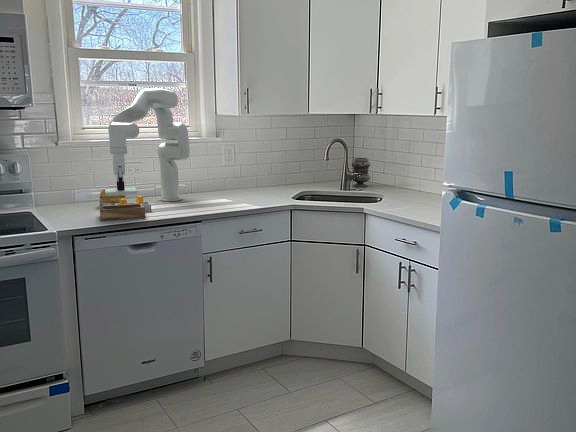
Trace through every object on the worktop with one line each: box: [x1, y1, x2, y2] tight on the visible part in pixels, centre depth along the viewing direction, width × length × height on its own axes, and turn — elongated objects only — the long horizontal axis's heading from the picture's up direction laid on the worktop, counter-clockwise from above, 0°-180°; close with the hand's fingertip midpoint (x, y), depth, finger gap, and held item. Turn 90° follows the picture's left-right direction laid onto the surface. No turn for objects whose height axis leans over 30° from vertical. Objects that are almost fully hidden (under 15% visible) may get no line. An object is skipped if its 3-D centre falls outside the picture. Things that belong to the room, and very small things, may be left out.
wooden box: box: [99, 199, 146, 222], centre depth 268 cm, size 12×20×8 cm, turn 109°
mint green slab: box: [105, 180, 138, 196], centre depth 266 cm, size 12×14×6 cm
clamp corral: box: [115, 201, 152, 213], centre depth 283 cm, size 9×17×4 cm, turn 109°
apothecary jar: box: [351, 157, 371, 188], centre depth 359 cm, size 12×12×18 cm
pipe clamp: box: [120, 195, 144, 205], centre depth 283 cm, size 12×4×6 cm, turn 141°
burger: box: [99, 186, 127, 205], centre depth 294 cm, size 13×14×10 cm
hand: (120, 189), depth 266 cm, fingers closed on mint green slab, 3 cm apart
